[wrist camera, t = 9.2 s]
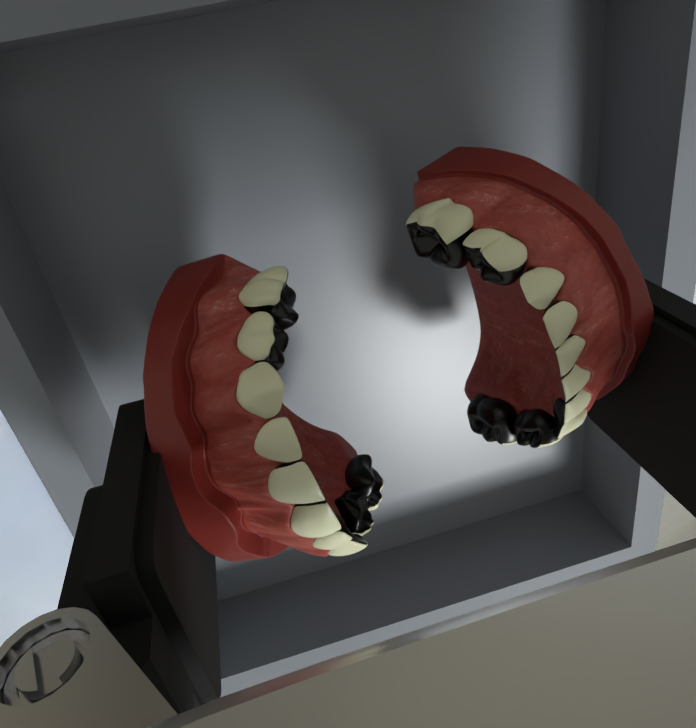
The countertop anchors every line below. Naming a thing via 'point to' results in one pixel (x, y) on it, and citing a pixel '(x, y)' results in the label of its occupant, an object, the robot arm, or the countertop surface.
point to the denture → (483, 386)
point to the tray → (333, 264)
